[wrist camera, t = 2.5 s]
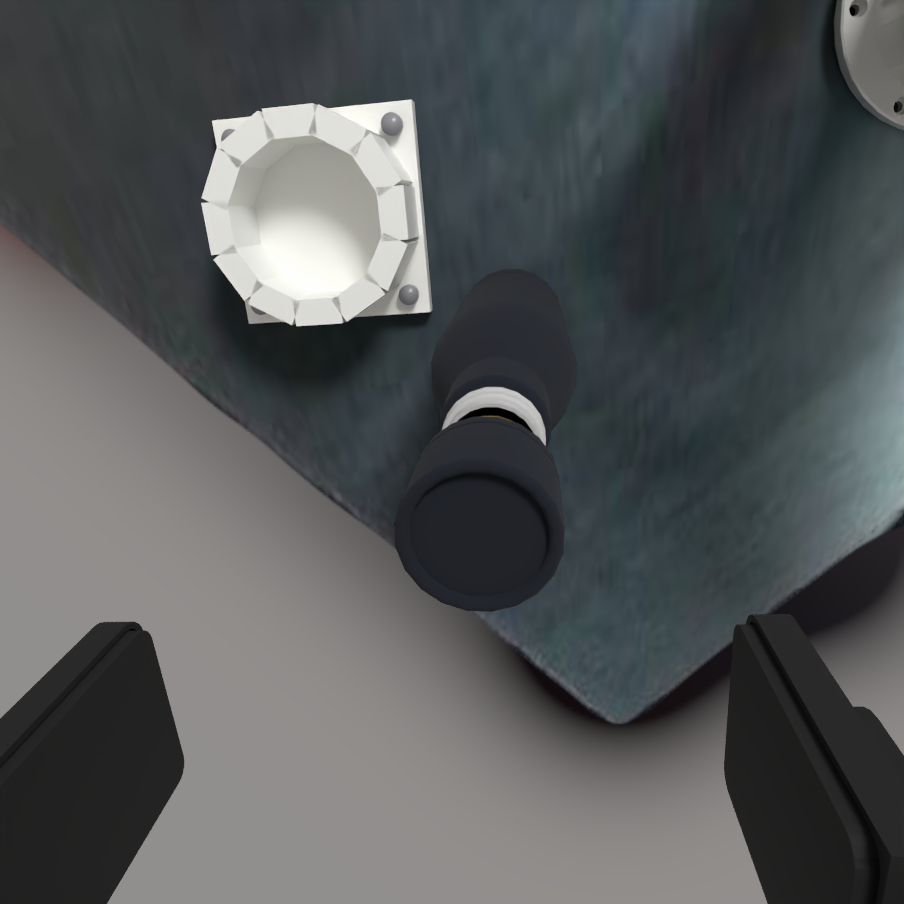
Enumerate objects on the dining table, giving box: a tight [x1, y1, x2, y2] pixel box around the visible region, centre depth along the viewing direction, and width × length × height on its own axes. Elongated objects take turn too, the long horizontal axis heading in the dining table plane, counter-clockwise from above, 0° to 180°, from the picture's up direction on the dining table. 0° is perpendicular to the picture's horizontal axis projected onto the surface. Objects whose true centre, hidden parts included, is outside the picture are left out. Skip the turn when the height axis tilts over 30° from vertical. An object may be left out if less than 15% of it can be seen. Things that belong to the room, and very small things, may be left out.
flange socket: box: [201, 100, 433, 326], centre depth 40 cm, size 12×12×5 cm
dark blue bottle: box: [394, 269, 577, 612], centre depth 29 cm, size 6×6×30 cm
